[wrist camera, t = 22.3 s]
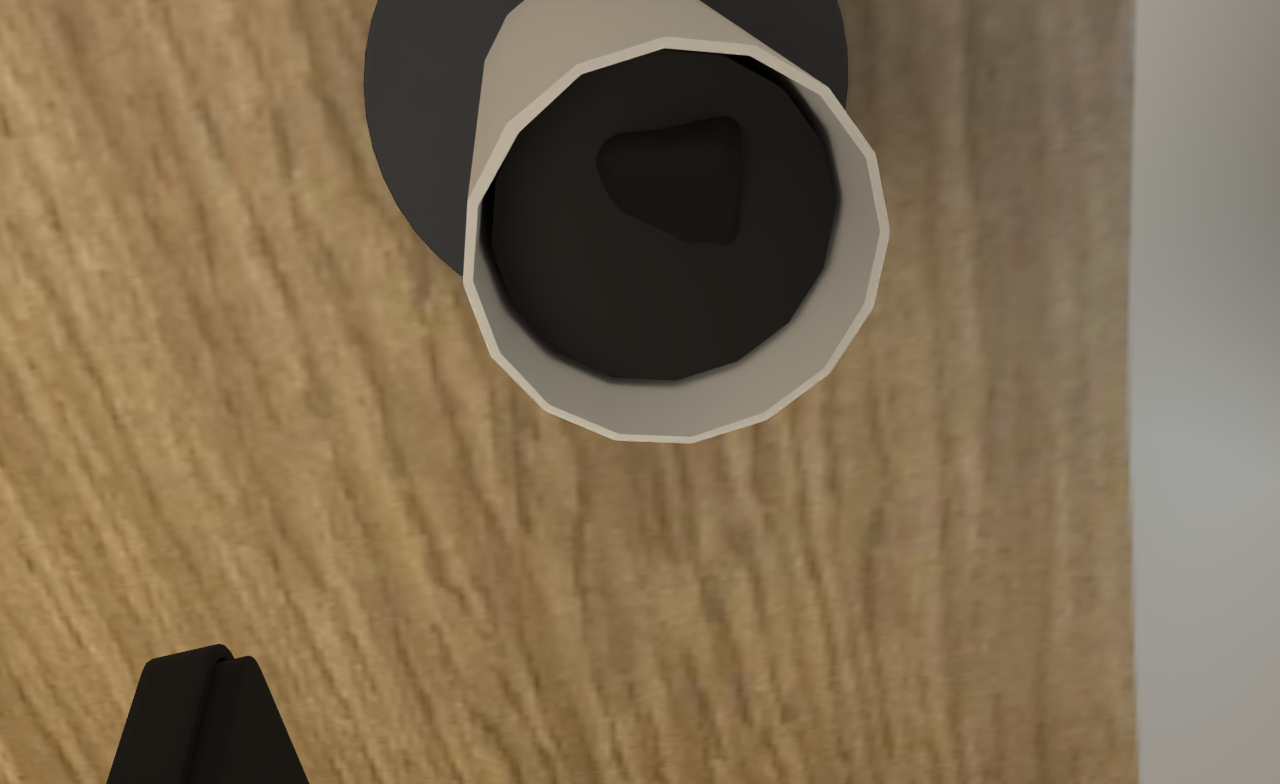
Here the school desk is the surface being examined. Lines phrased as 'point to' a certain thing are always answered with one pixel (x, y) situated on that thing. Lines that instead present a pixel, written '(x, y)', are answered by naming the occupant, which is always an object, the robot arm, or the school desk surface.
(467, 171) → the coaster
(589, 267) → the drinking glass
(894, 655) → the school desk surface
